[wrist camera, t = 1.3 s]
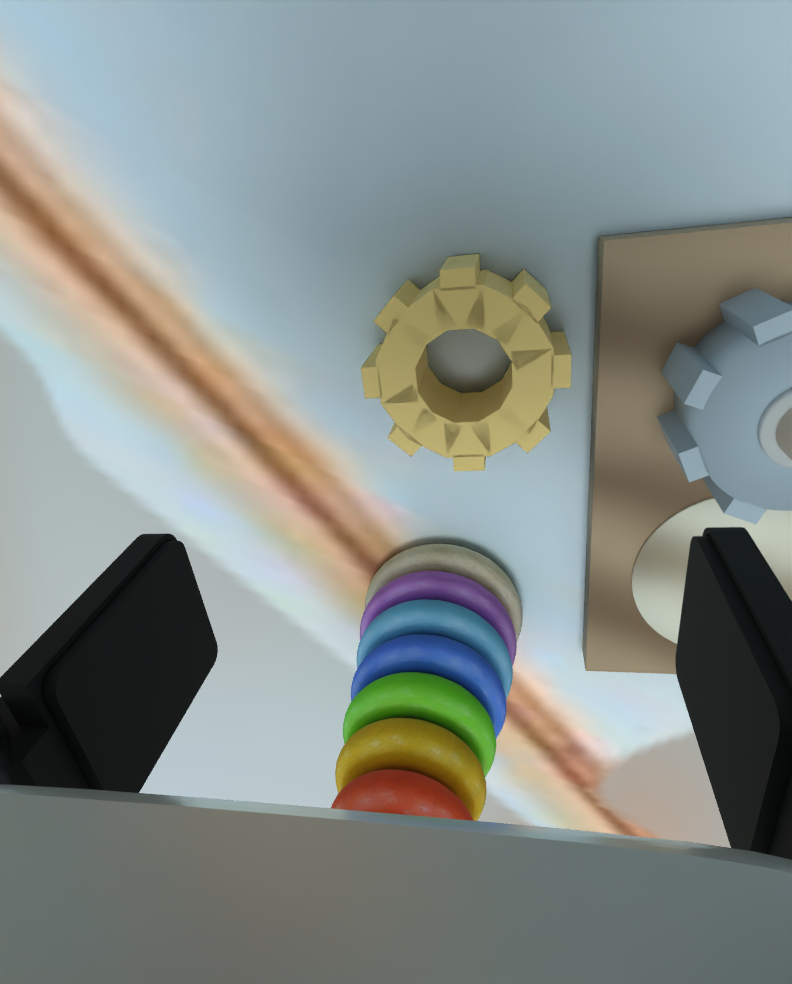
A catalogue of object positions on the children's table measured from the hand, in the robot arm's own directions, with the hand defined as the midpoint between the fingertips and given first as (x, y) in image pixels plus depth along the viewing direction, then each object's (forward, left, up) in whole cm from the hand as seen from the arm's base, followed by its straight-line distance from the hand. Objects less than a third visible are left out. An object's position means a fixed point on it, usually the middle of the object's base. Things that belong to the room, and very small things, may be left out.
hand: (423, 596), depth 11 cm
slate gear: (+2, +11, -15) cm, 18 cm away
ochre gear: (0, 0, -16) cm, 16 cm away
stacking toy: (+13, -2, -17) cm, 21 cm away
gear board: (+6, +11, -16) cm, 20 cm away
